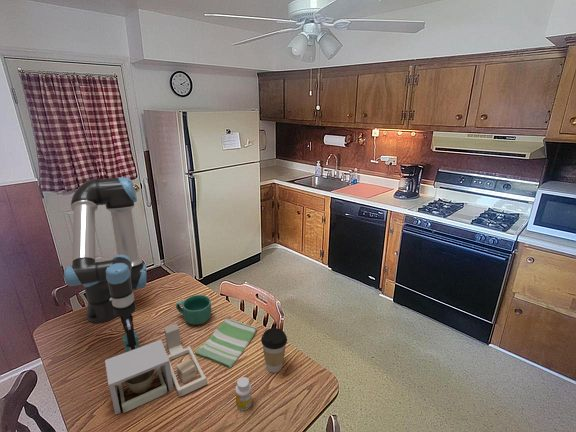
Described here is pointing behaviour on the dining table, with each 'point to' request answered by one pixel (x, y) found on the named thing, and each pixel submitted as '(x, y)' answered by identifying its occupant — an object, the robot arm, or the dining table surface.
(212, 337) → the dish towel
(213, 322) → the dining table surface
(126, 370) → the shelf
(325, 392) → the dining table surface
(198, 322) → the mug
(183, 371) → the birch block
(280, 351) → the coffee cup
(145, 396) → the frame
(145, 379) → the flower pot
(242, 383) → the supplement bottle
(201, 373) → the open frame with post
